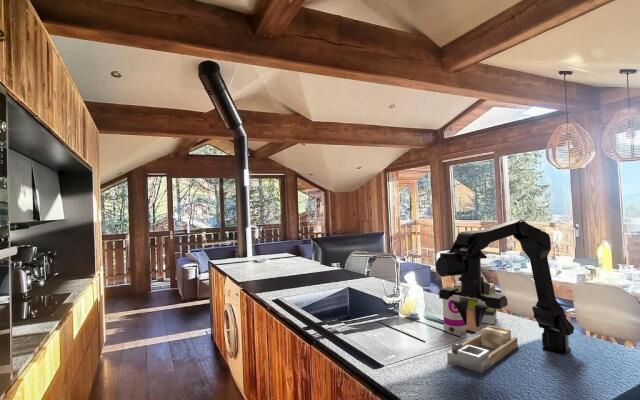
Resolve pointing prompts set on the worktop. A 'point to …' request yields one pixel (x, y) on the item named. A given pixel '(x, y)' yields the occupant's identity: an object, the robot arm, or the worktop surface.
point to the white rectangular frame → (469, 357)
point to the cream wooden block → (494, 336)
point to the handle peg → (471, 319)
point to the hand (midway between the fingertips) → (472, 325)
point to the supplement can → (452, 318)
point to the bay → (497, 353)
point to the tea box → (489, 313)
